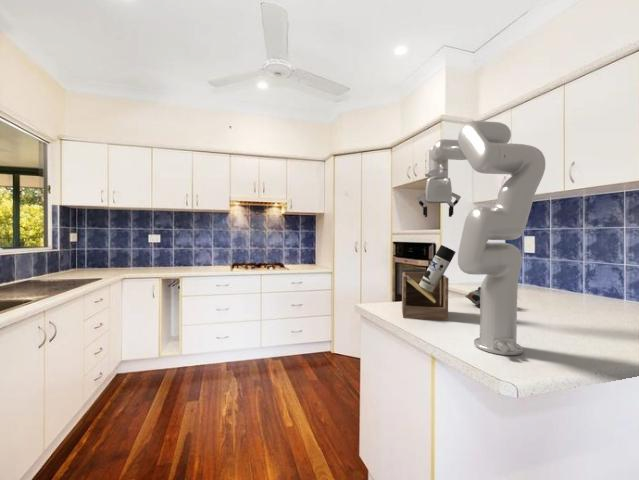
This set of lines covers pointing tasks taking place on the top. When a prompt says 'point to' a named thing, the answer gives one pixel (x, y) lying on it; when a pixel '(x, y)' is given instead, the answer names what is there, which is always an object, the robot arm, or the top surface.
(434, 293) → the stand
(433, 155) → the robot arm
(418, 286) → the trapdoor
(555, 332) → the top surface
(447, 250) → the spray can
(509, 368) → the top surface
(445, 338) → the top surface
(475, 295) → the lucky cat figurine
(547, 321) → the top surface
